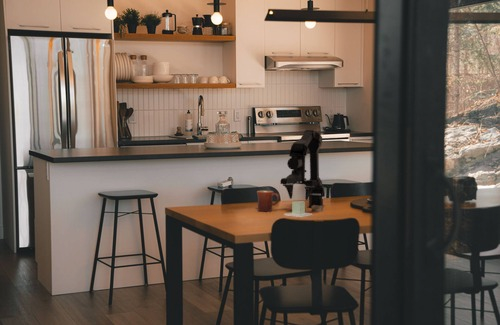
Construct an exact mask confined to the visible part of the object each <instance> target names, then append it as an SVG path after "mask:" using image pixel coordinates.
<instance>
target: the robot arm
mask: <svg viewBox="0 0 500 325" xmlns="http://www.w3.org/2000/svg"><path fill="white" fill-rule="evenodd" d="M322 143H323V136H322V135H321V134H320V133H319V132H317V131H316V130H314V129H305V130H304V132H303V134H302V135H301V137H300V138H299V139H298V140H296V141H294V142H293V143H292V145H291V148H290V150H289V154H288V157H290V158H289V159H288V160H287V166H288V168H289V169H290V170H291V174H289V175H288V176H286V177H282V178H281V179H280V182H279V183H280V185H282V186H283V187H284V188H285V189H286V191H287V194H288V197H289V200H292V198H293V192H294V185H305V186H304V189H305V201H308V206H307V208H312V206H313V205H319V206H323V207H324V203H323V201H324V200H323V197H325V193H326V192H325V188H324V185H323V181H322V180H321V178H320V173H319V172H320V165H319V164H320V160H319V159H320V158H319V156H320V155H319V150H320V148H321V147H322ZM308 152H309V174H310V175H309V176H310V177H309V179H307V178H306V173H307V170H306V157H307V154H308Z"/></svg>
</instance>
